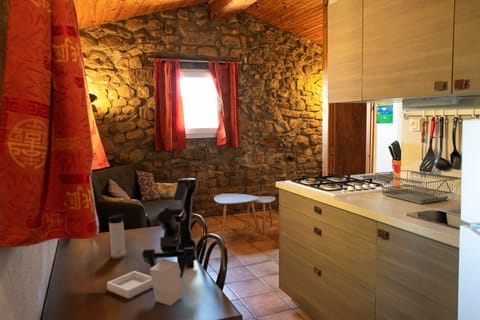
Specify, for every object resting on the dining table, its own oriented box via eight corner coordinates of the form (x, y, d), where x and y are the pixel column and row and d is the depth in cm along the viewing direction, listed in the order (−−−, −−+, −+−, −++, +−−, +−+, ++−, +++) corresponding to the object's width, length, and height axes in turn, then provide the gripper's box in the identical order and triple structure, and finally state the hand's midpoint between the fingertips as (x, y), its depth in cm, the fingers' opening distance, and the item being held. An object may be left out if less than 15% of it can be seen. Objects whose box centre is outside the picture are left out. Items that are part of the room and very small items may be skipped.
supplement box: (184, 294, 133) (179, 262, 130) (170, 306, 127) (164, 273, 124) (169, 289, 137) (163, 258, 134) (154, 301, 131) (148, 268, 128)
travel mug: (121, 259, 173) (118, 216, 171) (108, 258, 175) (105, 216, 173) (128, 254, 180) (125, 213, 177) (115, 253, 181) (112, 212, 179)
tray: (134, 278, 152) (134, 270, 151) (155, 285, 144) (155, 277, 144) (107, 290, 142) (106, 282, 141) (128, 298, 134) (127, 290, 134)
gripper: (141, 227, 135) (135, 268, 125) (194, 225, 135) (192, 266, 125) (147, 242, 143) (142, 282, 133) (197, 240, 144) (195, 280, 134)
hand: (167, 277), depth 131 cm, fingers closed on supplement box, 9 cm apart
